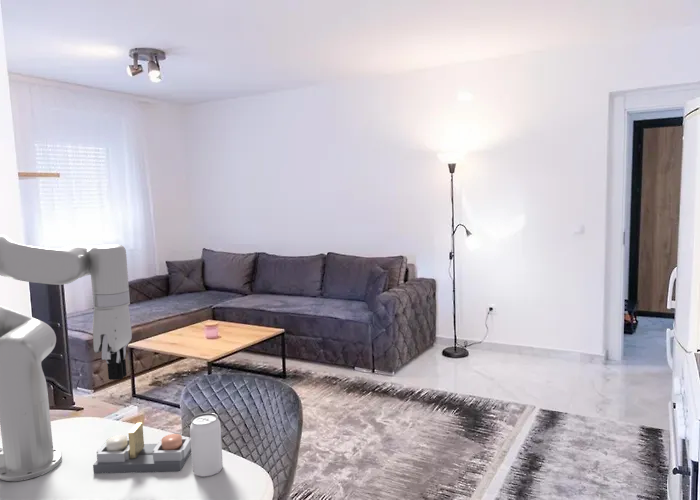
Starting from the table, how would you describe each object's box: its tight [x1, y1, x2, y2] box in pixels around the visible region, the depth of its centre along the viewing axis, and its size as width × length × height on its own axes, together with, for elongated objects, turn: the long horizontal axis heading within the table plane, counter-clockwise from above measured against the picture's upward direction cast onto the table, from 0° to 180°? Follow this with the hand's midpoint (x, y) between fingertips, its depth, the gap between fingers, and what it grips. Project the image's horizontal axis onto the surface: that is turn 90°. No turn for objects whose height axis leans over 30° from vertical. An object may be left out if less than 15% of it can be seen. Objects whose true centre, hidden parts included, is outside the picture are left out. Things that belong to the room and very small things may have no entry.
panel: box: [92, 436, 191, 475], centre depth 120 cm, size 20×9×4 cm, turn 90°
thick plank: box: [128, 422, 145, 458], centre depth 120 cm, size 1×5×6 cm, turn 0°
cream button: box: [105, 434, 128, 452], centre depth 120 cm, size 4×4×2 cm
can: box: [189, 412, 224, 478], centre depth 116 cm, size 6×6×12 cm
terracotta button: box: [160, 433, 183, 450], centre depth 120 cm, size 4×4×2 cm
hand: (117, 377), depth 121 cm, fingers closed
